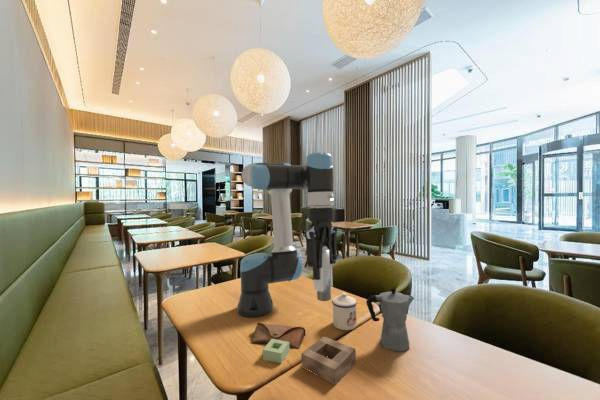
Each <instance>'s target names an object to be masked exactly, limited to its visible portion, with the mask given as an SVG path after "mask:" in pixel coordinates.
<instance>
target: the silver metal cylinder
mask: <svg viewBox="0 0 600 400" xmlns="http://www.w3.org/2000/svg"><path fill="white" fill-rule="evenodd" d="M321 267H322V268H323V286H324V291H323V292H321V291H317V290H316V299H317V300H318V301H320V302H327V301H331V300H332V297H331V296H332V289H331V288H332V287H331V283H330V254H329V249H328V248H327V246H326V245H324V244H323V247H322V259H321Z"/></svg>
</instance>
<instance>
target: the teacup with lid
mask: <svg viewBox="0 0 600 400" xmlns="http://www.w3.org/2000/svg"><path fill="white" fill-rule="evenodd" d="M331 300H332V301H331V303H332V324H333V326H334V327H335V328H336V329H338V330H341V331H350V330H351V331H352V330H354V329H356V327H357V325H358V322H357V321H358V319H357V315H358V314H357V304H358V302H357V299H356V298H354V297H352V296H349V295H348V294H347V293H346V292H341V294H340V295H337V296H335V297H333V298H332V299H331Z"/></svg>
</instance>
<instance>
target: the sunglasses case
mask: <svg viewBox="0 0 600 400" xmlns="http://www.w3.org/2000/svg"><path fill="white" fill-rule="evenodd" d="M305 337H306V328H304V327H303V326H291V325H290V326H289V325H280V324H267V323H262V322H257V324H256V326H255V330H254V331H253V336H252V338H251V340H250V342H249V344H256V345H257V344H258V345H267V344H268V343H269V342H270V340H271V339H276V340H281V341H287V342H289V348H294V349H301V346H302V343H303V341H304V339H305Z"/></svg>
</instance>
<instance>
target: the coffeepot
mask: <svg viewBox="0 0 600 400" xmlns="http://www.w3.org/2000/svg"><path fill="white" fill-rule="evenodd" d="M396 291H397V288H396V287H390V291H385V292H380V293H379V294H378V295H377V294H376V295H370V296H369V297H368V298H367V299H366V300H365V301H366V302H365V303H366V306H367V308H368V312H369V313H370V314H369V315H370V317H371V319H372V321H373V322H379V321H380V318H379V317H376V312H375V310H374V305H373V303H374V302H375V303H379V305H380V311H381V316H382V319H383V321H382V326H381V327H382V328H381V335H380V344H381V345H382V346H383V347H384V348H385V349H387V350H390V351H391V352H399V353H401V352H405V351H408V350H409V349H410V340H409V335H408V334H409V333H408V328H407V324H406V321H407V316H408V310H409V309H408V308H409V307H410V305H411V303H412V301H414V300H415V297H413V296H412V295H408V294H404V293H401V292H396Z"/></svg>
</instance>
